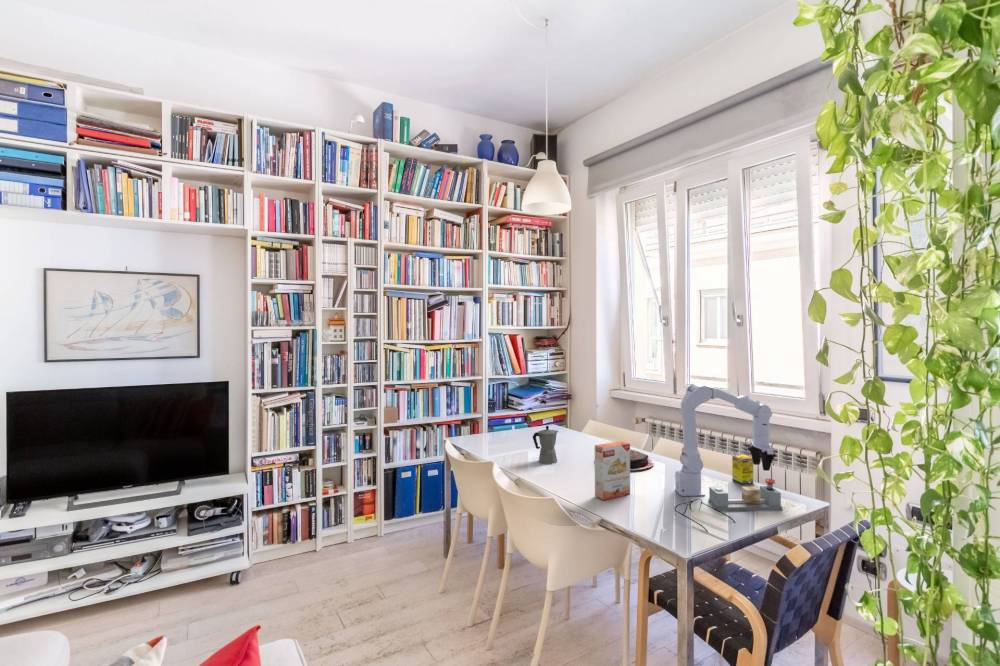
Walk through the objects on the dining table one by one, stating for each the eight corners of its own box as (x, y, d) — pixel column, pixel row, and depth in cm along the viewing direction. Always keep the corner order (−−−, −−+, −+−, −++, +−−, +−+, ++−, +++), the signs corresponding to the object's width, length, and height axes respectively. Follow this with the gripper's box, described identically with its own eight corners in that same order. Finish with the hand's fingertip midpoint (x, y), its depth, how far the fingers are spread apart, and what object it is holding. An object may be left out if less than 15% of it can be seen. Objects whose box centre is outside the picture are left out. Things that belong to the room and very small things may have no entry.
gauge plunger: (768, 492, 179) (767, 481, 179) (763, 489, 182) (763, 478, 182) (776, 491, 179) (776, 481, 179) (772, 488, 182) (772, 478, 182)
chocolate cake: (616, 452, 257) (615, 440, 256) (664, 463, 236) (664, 450, 236) (583, 464, 238) (583, 451, 237) (633, 477, 217) (633, 462, 217)
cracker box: (604, 501, 188) (603, 448, 188) (594, 496, 194) (593, 444, 193) (631, 494, 195) (630, 443, 194) (621, 490, 200) (620, 439, 200)
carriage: (746, 503, 179) (746, 490, 179) (741, 499, 183) (741, 486, 183) (760, 503, 179) (760, 490, 178) (755, 499, 183) (755, 486, 182)
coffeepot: (552, 457, 250) (552, 422, 249) (564, 461, 242) (563, 425, 241) (528, 462, 242) (527, 426, 242) (539, 467, 234) (538, 430, 233)
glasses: (700, 510, 179) (701, 497, 178) (736, 529, 166) (738, 515, 165) (673, 518, 172) (674, 505, 171) (708, 539, 159) (710, 525, 158)
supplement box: (742, 485, 203) (742, 459, 202) (731, 480, 209) (731, 455, 208) (754, 483, 204) (753, 457, 204) (743, 479, 210) (743, 454, 210)
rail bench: (718, 510, 177) (718, 493, 177) (708, 501, 186) (708, 484, 186) (782, 510, 176) (782, 492, 176) (769, 500, 185) (769, 484, 185)
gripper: (781, 437, 186) (781, 472, 186) (761, 429, 201) (762, 461, 201) (762, 438, 186) (763, 473, 187) (744, 429, 201) (745, 462, 201)
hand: (761, 467), depth 194 cm, fingers open, 7 cm apart
